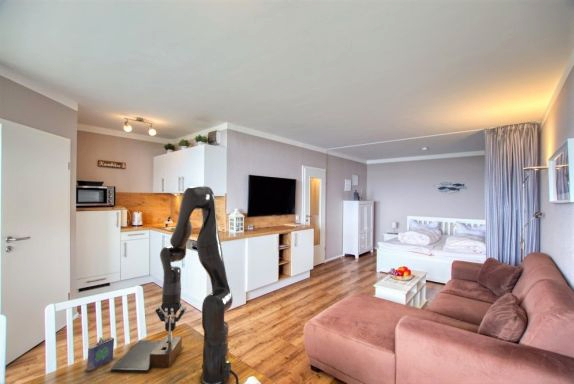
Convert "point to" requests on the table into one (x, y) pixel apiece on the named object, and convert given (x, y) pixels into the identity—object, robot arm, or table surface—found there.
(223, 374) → the robot arm
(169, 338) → the stylus
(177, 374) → the table surface
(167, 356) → the pen stand
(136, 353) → the tablet
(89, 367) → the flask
